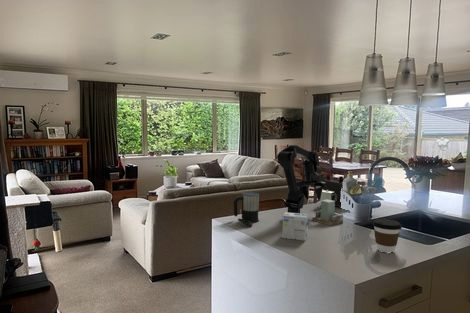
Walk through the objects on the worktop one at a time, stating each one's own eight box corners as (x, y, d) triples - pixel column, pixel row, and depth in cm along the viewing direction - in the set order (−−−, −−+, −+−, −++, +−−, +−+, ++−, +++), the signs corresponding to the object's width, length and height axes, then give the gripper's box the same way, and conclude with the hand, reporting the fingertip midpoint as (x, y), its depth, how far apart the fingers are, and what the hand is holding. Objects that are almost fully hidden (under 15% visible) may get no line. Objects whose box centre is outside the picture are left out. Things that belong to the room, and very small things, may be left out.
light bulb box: (307, 236, 153) (308, 213, 152) (305, 241, 147) (306, 217, 146) (284, 234, 157) (285, 211, 156) (281, 238, 150) (282, 215, 149)
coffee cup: (386, 257, 129) (388, 227, 128) (365, 248, 139) (366, 220, 138) (406, 253, 134) (408, 224, 133) (384, 244, 144) (385, 217, 143)
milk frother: (254, 217, 184) (255, 191, 183) (267, 225, 170) (267, 197, 168) (230, 220, 179) (231, 192, 178) (241, 228, 165) (241, 198, 163)
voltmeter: (359, 206, 215) (360, 175, 214) (341, 209, 207) (342, 177, 205) (340, 201, 229) (341, 172, 228) (322, 203, 221) (323, 174, 219)
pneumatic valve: (333, 211, 202) (334, 191, 201) (316, 208, 209) (316, 189, 208) (337, 209, 206) (338, 190, 205) (319, 206, 213) (320, 187, 212)
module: (327, 220, 176) (328, 202, 175) (320, 218, 180) (321, 200, 179) (334, 219, 179) (334, 201, 178) (326, 217, 183) (327, 199, 182)
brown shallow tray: (330, 225, 171) (330, 217, 171) (312, 219, 182) (312, 212, 181) (342, 222, 177) (343, 214, 177) (324, 217, 187) (324, 209, 187)
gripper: (307, 167, 180) (312, 195, 175) (331, 170, 190) (336, 197, 185) (293, 172, 189) (297, 200, 184) (317, 175, 199) (321, 201, 194)
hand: (313, 199), depth 186 cm, fingers open, 9 cm apart
